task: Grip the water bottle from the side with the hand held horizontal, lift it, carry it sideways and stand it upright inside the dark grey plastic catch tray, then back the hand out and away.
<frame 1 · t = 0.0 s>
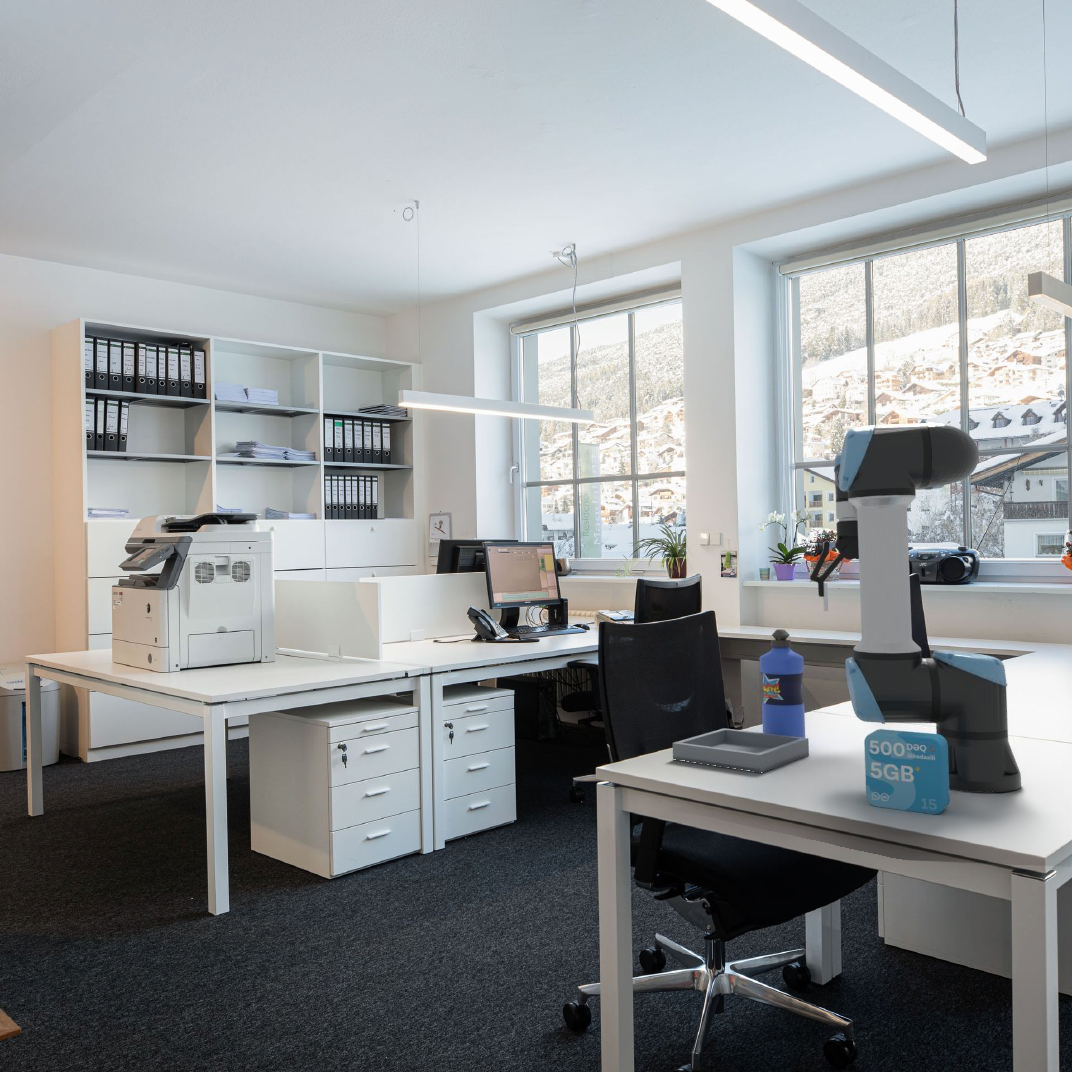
hand: (856, 610, 217), 28 cm above the table, tool pointing down, fingers open, 13 cm apart
water bottle: (784, 744, 204), on the table
data package: (907, 808, 150), on the table
catch tray: (741, 757, 190), on the table
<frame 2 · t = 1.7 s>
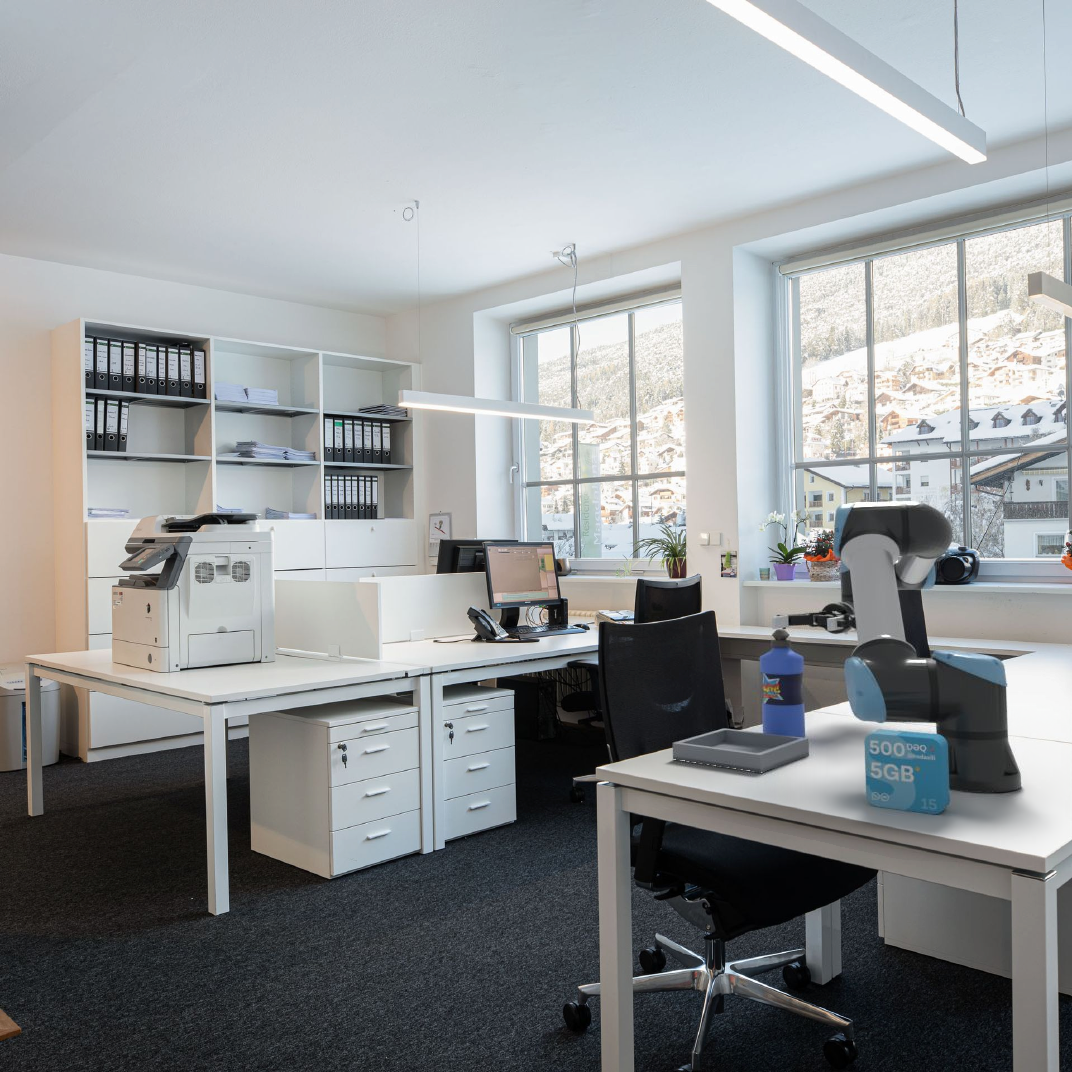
hand: (800, 623, 212), 26 cm above the table, tool horizontal, fingers open, 13 cm apart
nothing on the table moved.
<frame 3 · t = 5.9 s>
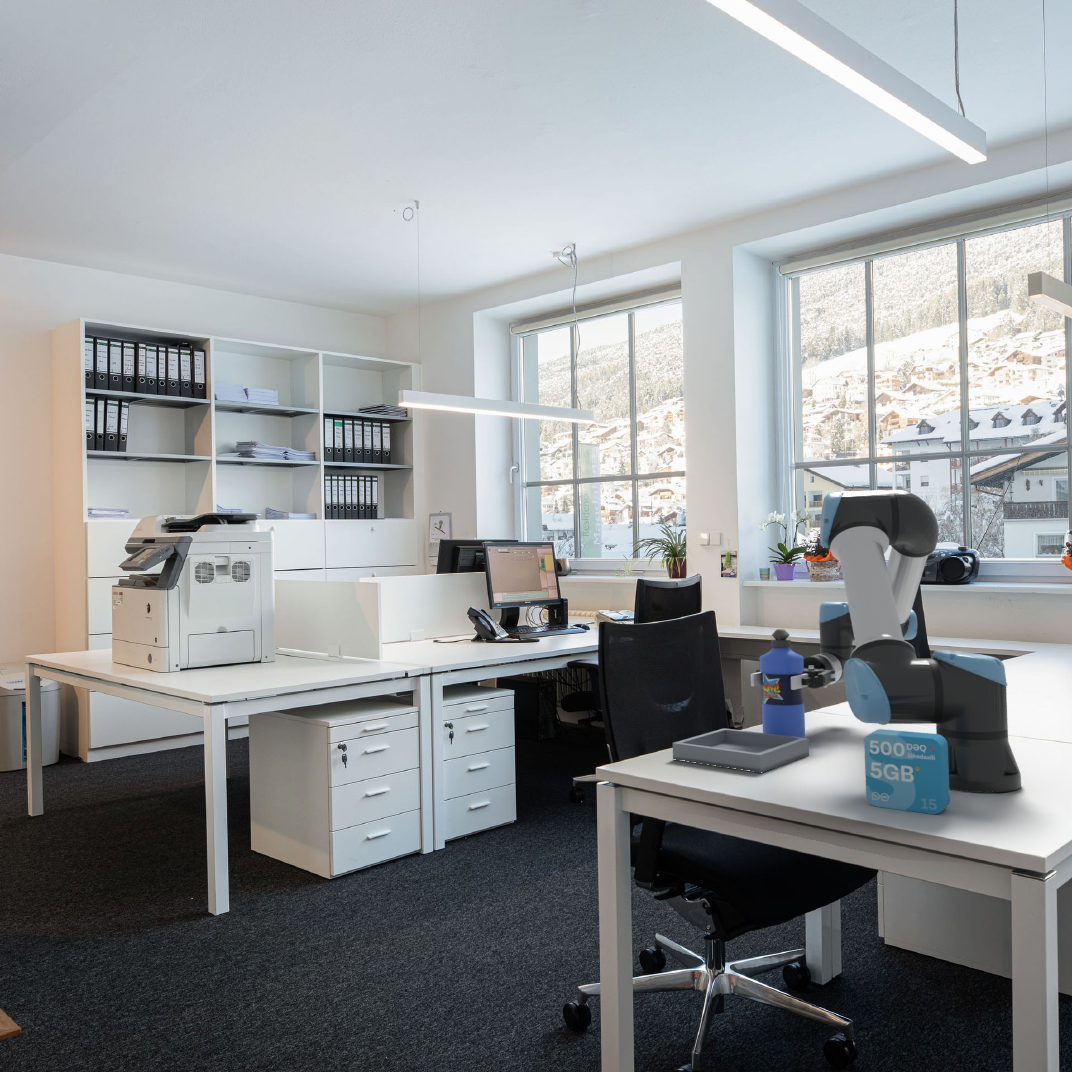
hand: (772, 681, 201), 14 cm above the table, tool horizontal, fingers closed on water bottle, 9 cm apart
water bottle: (784, 744, 204), on the table, touching gripper
everything else where it was.
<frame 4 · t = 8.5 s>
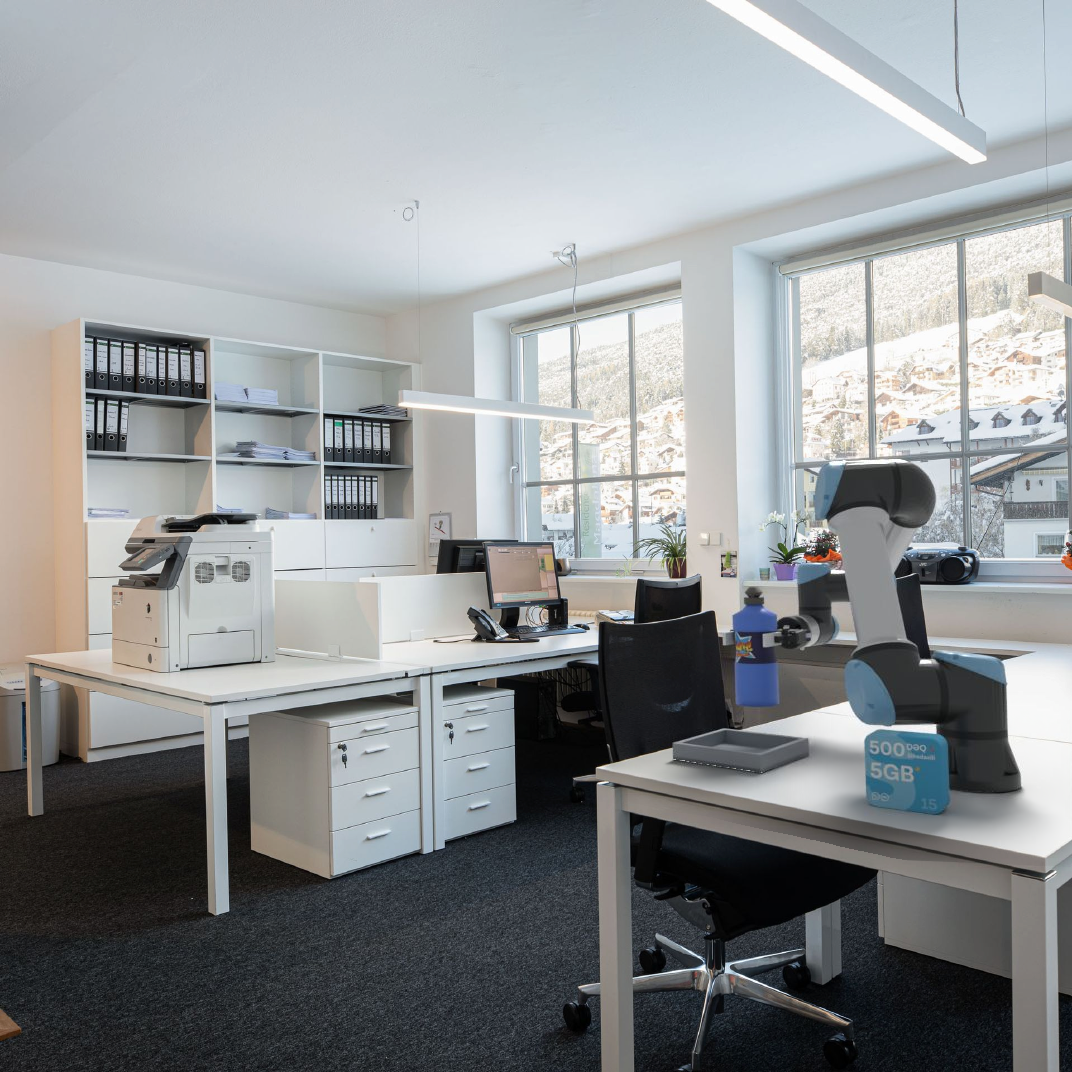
hand: (744, 639, 195), 24 cm above the table, tool horizontal, fingers closed on water bottle, 9 cm apart
water bottle: (757, 704, 198), point 10 cm above the table, touching gripper
everything else where it was.
when the fingers open (16 cm above the table, at t = 11.5 s): water bottle drops 2 cm, resting on catch tray.
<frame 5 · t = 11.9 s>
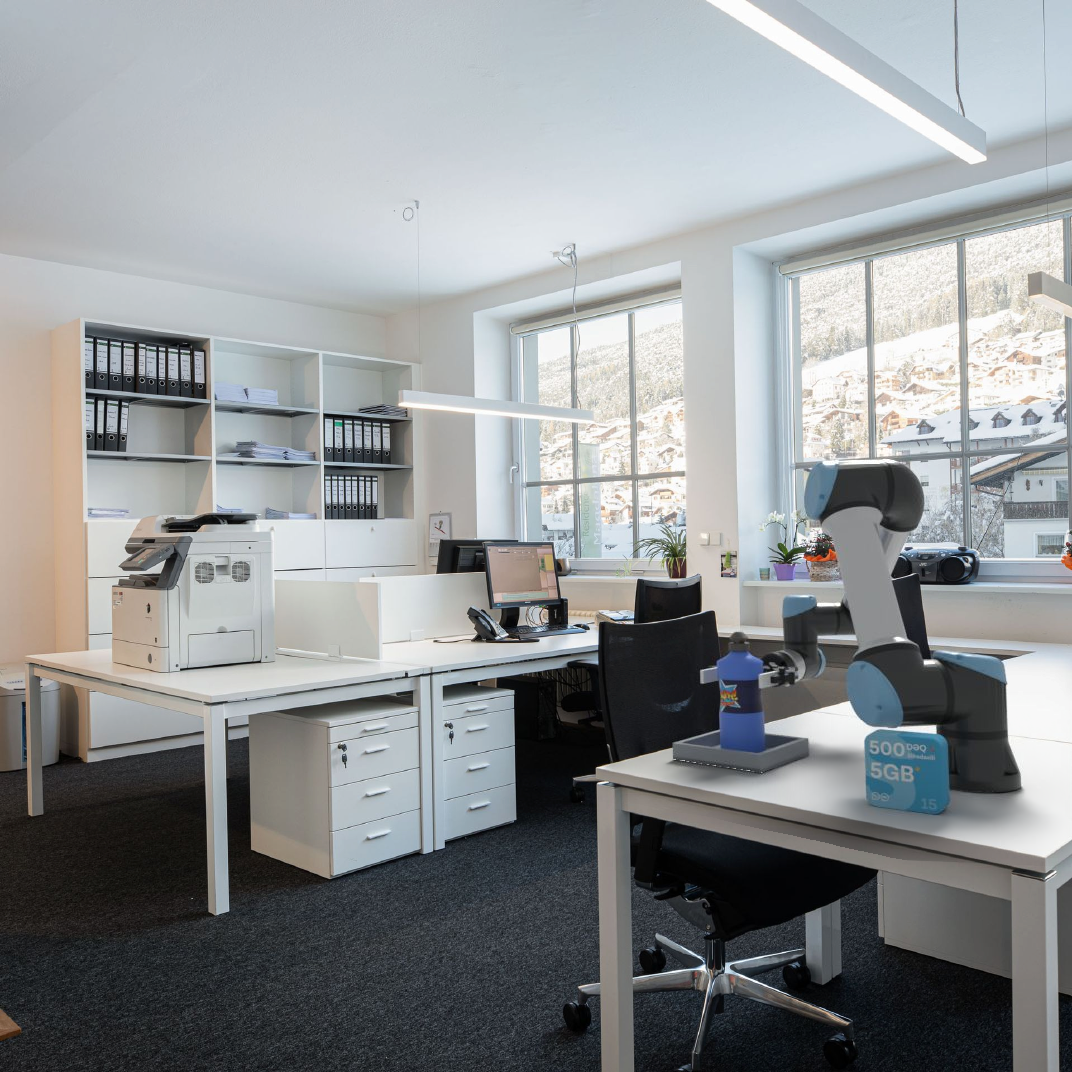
hand: (730, 679, 188), 16 cm above the table, tool horizontal, fingers open, 13 cm apart
water bottle: (743, 754, 190), point 1 cm above the table, touching catch tray
everything else where it was.
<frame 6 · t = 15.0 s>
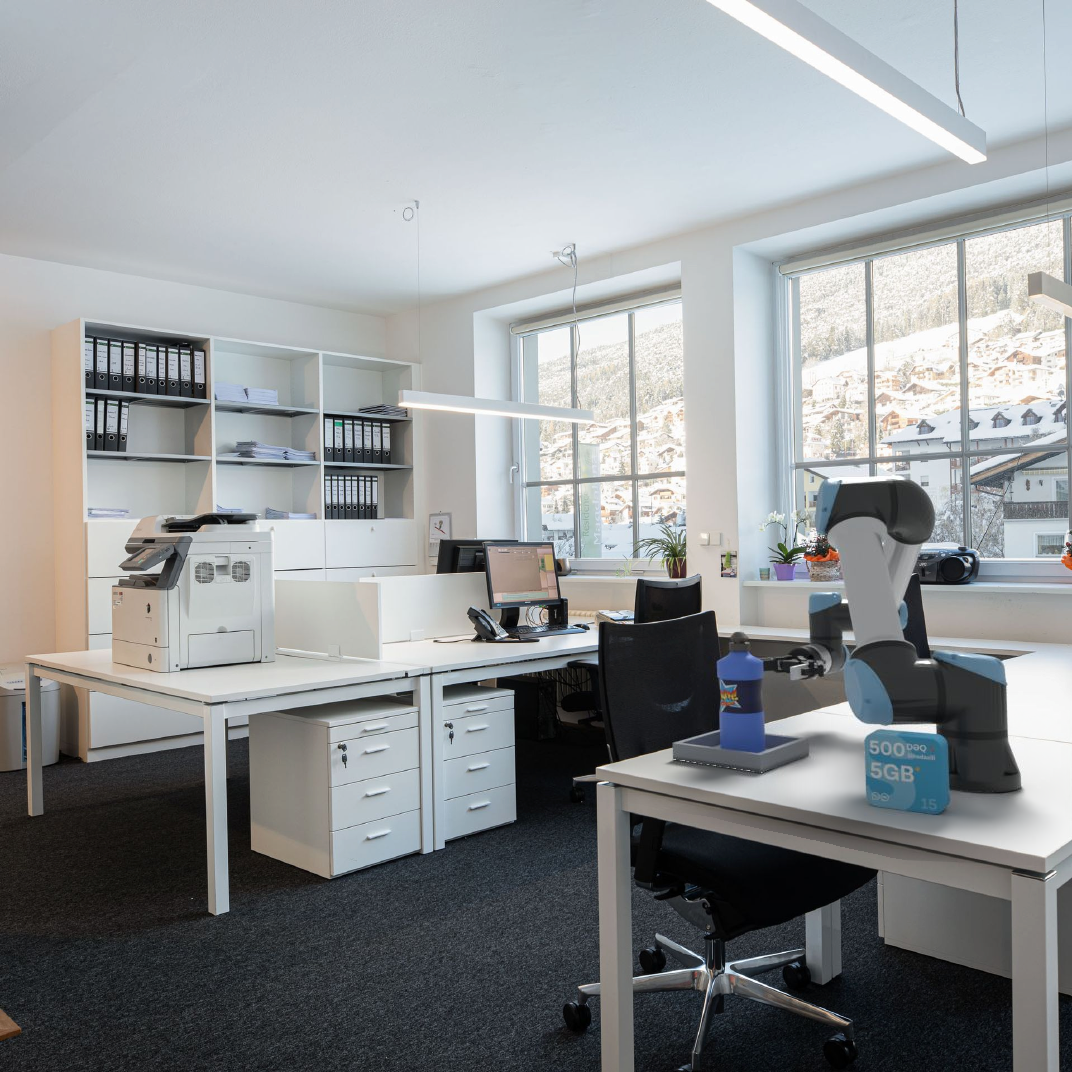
hand: (762, 671, 198), 17 cm above the table, tool horizontal, fingers open, 13 cm apart
nothing on the table moved.
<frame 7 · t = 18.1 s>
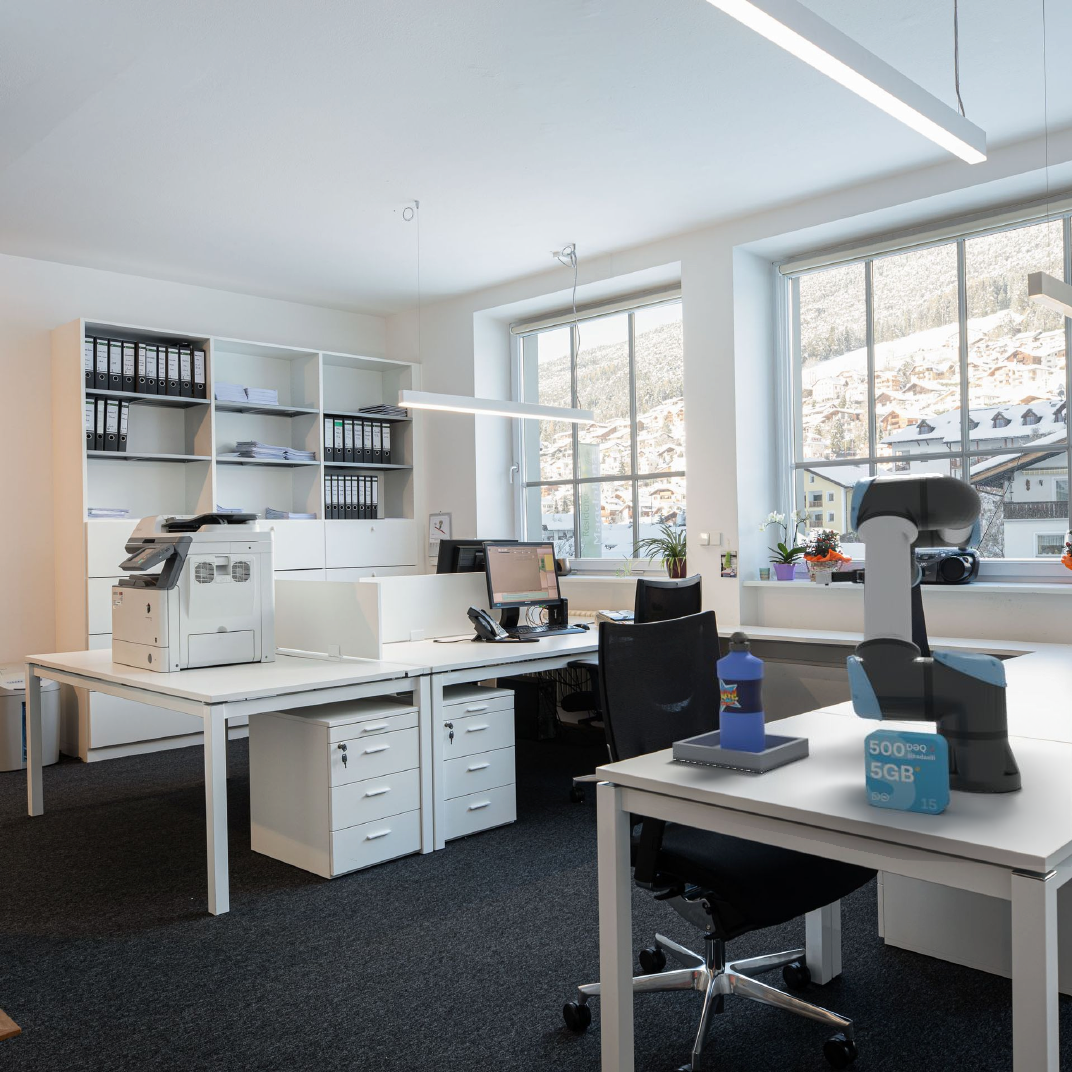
hand: (845, 578, 206), 36 cm above the table, tool horizontal, fingers open, 13 cm apart
nothing on the table moved.
at the end: water bottle inside the target area on the catch tray (0.4 cm from its centre), point 0.6 cm above the catch tray's base; water bottle tilted 0°; the gripper is holding nothing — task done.
